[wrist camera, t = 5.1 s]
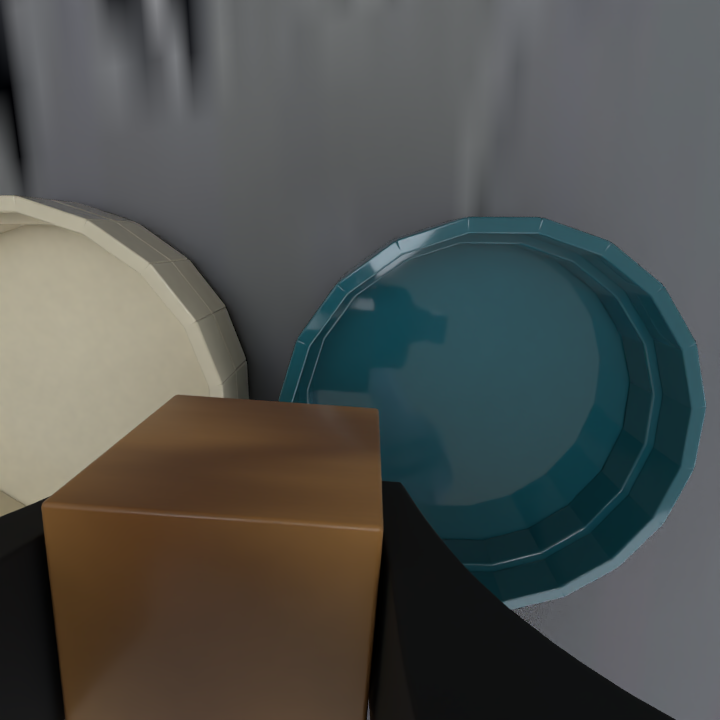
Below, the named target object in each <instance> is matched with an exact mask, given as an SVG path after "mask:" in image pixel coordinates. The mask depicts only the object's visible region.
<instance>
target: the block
mask: <svg viewBox="0 0 720 720" xmlns="http://www.w3.org/2000/svg"><path fill="white" fill-rule="evenodd" d="M41 510H42V519H43V527H44V536H45V545H46V554H47V563H48V572H49V580H50V589H51V598H52V607H53V616H54V625H55V633H56V642H57V651H58V660H59V669H60V677H61V686H62V695H63V704H64V713H65V720H367V710H368V699H369V688H370V677H371V666H372V654H373V643H374V632H375V621H376V610H377V598H378V587H379V576H380V565H381V554H382V542H383V531H384V526H383V502H382V478H381V454H380V430H379V411H378V409H376V408H362V407H348V406H334V405H319V404H305V403H291V402H277V401H263V400H248V399H234V398H220V397H206V396H192V395H175V396H173V397H172V398H171V399H170V400H169V401H167V402H166V403H165V404H164V405H162V406H161V407H160V408H159V409H157V410H156V411H155V412H154V413H152V414H151V415H150V416H149V417H148V418H146V419H145V420H144V421H143V422H141V423H140V424H139V425H138V426H136V427H135V428H134V429H133V430H131V431H130V432H129V433H128V434H127V435H125V436H124V437H123V438H122V439H120V440H119V441H118V442H117V443H115V444H114V445H113V446H112V447H110V448H109V449H108V450H107V451H106V452H104V453H103V454H102V455H101V456H99V457H98V458H97V459H96V460H94V461H93V462H92V463H91V464H89V465H88V466H87V467H86V468H84V469H83V470H82V471H81V472H80V473H78V474H77V475H76V476H75V477H73V478H72V479H71V480H70V481H68V482H67V483H66V484H65V485H63V486H62V487H61V488H60V489H59V490H57V491H56V492H55V493H54V494H52V495H51V496H50V497H49V498H47V499H46V500H45V501H44V502H43V503H42V506H41Z"/></svg>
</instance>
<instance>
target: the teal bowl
mask: <svg viewBox="0 0 720 720" xmlns="http://www.w3.org/2000/svg"><path fill="white" fill-rule="evenodd" d="M278 402H291V403H305V404H319V405H334V406H348V407H362V408H376V409H378V411H379V430H380V454H381V478H382V481H391V482H401V483H402V485H403V486H404V487H405V488H406V490H407V492H408V493H409V495H410V496H411V498H412V500H413V501H414V503H415V504H416V506H417V507H418V509H419V510H420V511H421V513H422V514H423V516H424V517H425V518H426V520H427V521H428V523H429V524H430V525H431V527H432V528H433V529H434V530H435V532H436V533H437V534H438V536H439V537H440V538H441V539H442V541H443V542H444V543H445V544H446V546H447V547H448V548H449V549H450V550H451V552H452V553H453V554H454V555H455V556H456V557H457V558H458V560H459V561H460V562H461V563H462V564H463V565H464V566H465V567H466V568H467V569H468V570H469V571H470V572H471V573H472V574H473V575H474V576H475V577H476V578H477V579H478V580H479V581H480V582H481V583H482V584H483V585H484V586H485V587H486V588H487V589H488V590H490V591H491V592H492V593H493V594H494V595H495V596H496V597H497V598H498V599H499V600H500V601H501V602H503V603H504V604H505V605H506V606H507V607H508V608H510V609H511V610H514V609H518V608H522V607H526V606H530V605H534V604H538V603H542V602H547V601H551V600H555V599H559V598H563V596H564V597H565V596H567V595H569V594H571V593H573V592H575V591H576V590H578V589H580V588H582V587H584V586H586V585H587V584H589V583H591V582H593V581H595V580H597V579H598V578H600V577H602V576H604V575H606V574H608V573H609V572H611V571H613V570H615V569H617V568H618V567H620V566H621V565H622V564H623V563H624V562H625V561H626V560H627V559H628V558H629V557H630V556H631V555H632V554H633V553H634V552H635V551H636V550H637V549H638V548H639V547H640V546H641V545H642V544H643V543H644V542H645V541H646V540H647V539H649V538H650V537H651V536H652V535H653V534H654V533H655V532H656V531H657V530H658V529H659V528H660V527H661V526H662V525H663V524H662V523H664V522H665V521H666V519H667V517H668V515H669V513H670V512H671V510H672V508H673V506H674V505H675V503H676V501H677V499H678V497H679V496H680V494H681V492H682V490H683V488H684V487H685V485H686V483H687V481H688V480H689V478H690V476H691V474H692V472H693V471H694V468H695V463H696V458H697V453H698V448H699V443H700V438H701V432H702V427H703V422H704V417H705V412H706V401H705V395H704V388H703V381H702V375H701V368H700V362H699V355H698V349H697V344H696V341H695V340H694V338H693V336H692V334H691V333H690V331H689V329H688V327H687V325H686V324H685V322H684V320H683V318H682V317H681V315H680V313H679V311H678V310H677V308H676V306H675V304H674V303H673V301H672V299H671V297H670V295H669V294H668V292H667V290H666V288H665V287H664V286H663V284H662V283H660V282H659V281H658V280H657V279H655V278H654V277H653V276H652V275H651V274H649V273H648V272H647V271H646V270H645V269H643V268H642V267H641V266H640V265H639V264H637V263H636V262H635V261H634V260H632V259H631V258H630V257H629V256H628V255H626V254H625V253H624V252H623V251H622V250H620V249H619V248H618V247H617V246H616V245H614V244H613V243H612V242H609V241H608V240H606V239H603V238H600V237H597V236H594V235H591V234H588V233H586V232H583V231H580V230H577V229H574V228H571V227H569V226H566V225H563V224H560V223H557V222H554V221H552V220H549V219H546V218H541V217H464V218H460V219H455V220H450V221H446V222H443V223H440V224H437V225H434V226H431V227H428V228H425V229H422V230H419V231H416V232H413V233H410V234H407V235H404V236H400V237H397V238H394V239H393V240H390V241H389V242H387V243H386V244H385V245H383V246H382V247H380V248H379V249H378V250H376V251H375V252H374V253H372V254H371V255H370V256H368V257H367V258H365V259H364V260H363V261H361V262H360V263H359V264H357V265H356V266H354V267H353V268H352V269H350V270H349V271H348V272H346V273H345V274H344V275H343V276H342V277H341V278H340V279H339V281H338V282H337V283H336V285H335V286H334V288H333V289H332V290H331V292H330V293H329V295H328V296H327V297H326V299H325V300H324V302H323V303H322V304H321V306H320V307H319V309H318V310H317V311H316V313H315V314H314V316H313V317H312V318H311V320H310V321H309V323H308V324H307V325H306V327H305V328H304V329H303V331H302V332H301V334H300V335H299V336H298V338H297V340H296V343H295V346H294V349H293V353H292V356H291V359H290V362H289V366H288V369H287V372H286V376H285V379H284V382H283V386H282V389H281V392H280V395H279V399H278Z"/></svg>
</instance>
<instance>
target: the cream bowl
mask: <svg viewBox="0 0 720 720" xmlns="http://www.w3.org/2000/svg"><path fill="white" fill-rule="evenodd" d="M225 307H226V306H225V305H224V303H223V302H222V301H221V300H220V298H219V297H218V296H217V295H216V293H215V292H214V291H213V289H212V288H211V287H210V286H209V284H208V283H207V282H206V281H205V279H204V278H203V277H202V275H201V274H200V273H199V272H198V270H197V269H196V268H195V267H194V265H193V264H192V263H191V261H190V260H189V259H187V258H186V257H185V256H184V255H182V254H181V253H179V252H178V251H177V250H175V249H174V248H172V247H171V246H169V245H168V244H167V243H165V242H164V241H162V240H161V239H160V238H158V237H157V236H155V235H154V234H153V233H151V232H150V231H148V230H147V229H146V228H144V227H143V226H141V225H140V224H139V223H135V222H134V221H131V220H128V219H125V218H122V217H119V216H116V215H113V214H110V213H107V212H104V211H101V210H98V209H95V208H92V207H89V206H86V205H83V204H80V203H75V202H67V201H59V200H50V199H42V198H33V197H25V196H16V195H0V517H1V516H3V515H6V514H8V513H11V512H13V511H16V510H18V509H21V508H23V507H26V506H28V505H31V504H33V503H35V502H38V501H40V500H42V499H45V498H47V497H49V496H51V495H52V494H54V493H55V492H56V491H57V490H59V489H60V488H61V487H62V486H63V485H65V484H66V483H67V482H68V481H70V480H71V479H72V478H73V477H75V476H76V475H77V474H78V473H80V472H81V471H82V470H83V469H84V468H86V467H87V466H88V465H89V464H91V463H92V462H93V461H94V460H96V459H97V458H98V457H99V456H101V455H102V454H103V453H104V452H106V451H107V450H108V449H109V448H110V447H112V446H113V445H114V444H115V443H117V442H118V441H119V440H120V439H122V438H123V437H124V436H125V435H127V434H128V433H129V432H130V431H131V430H133V429H134V428H135V427H136V426H138V425H139V424H140V423H141V422H143V421H144V420H145V419H146V418H148V417H149V416H150V415H151V414H152V413H154V412H155V411H156V410H157V409H159V408H160V407H161V406H162V405H164V404H165V403H166V402H167V401H169V400H170V399H171V398H172V397H173V396H175V395H192V396H206V397H220V398H234V399H248V400H249V391H248V373H247V361H245V360H246V358H245V355H244V353H243V350H242V348H241V345H240V342H239V340H238V337H237V335H236V332H235V329H234V327H233V324H232V322H231V319H230V317H229V314H228V311H227V309H226V308H225Z"/></svg>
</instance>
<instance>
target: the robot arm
mask: <svg viewBox="0 0 720 720" xmlns="http://www.w3.org/2000/svg"><path fill="white" fill-rule="evenodd" d="M49 497H50V496H49ZM49 497H47V498H49ZM47 498H45V499H42V500H40V501H38V502H35V503H33V504H31V505H28V506H26V507H23V508H21V509H18V510H16V511H13V512H11V513H8V514H6V515H3V516H1V517H0V720H65V713H64V704H63V695H62V686H61V677H60V669H59V660H58V651H57V642H56V633H55V625H54V616H53V607H52V598H51V589H50V580H49V572H48V563H47V554H46V545H45V536H44V527H43V519H42V510H41V506H42V503H43V502H44V501H45V500H46V499H47ZM382 502H383V526H384V531H383V542H382V554H381V565H380V576H379V587H378V598H377V610H376V621H375V632H374V643H373V654H372V666H371V677H370V688H369V709H370V720H675V719H674V718H672V717H670V716H668V715H666V714H665V713H663V712H661V711H659V710H658V709H656V708H654V707H652V706H650V705H649V704H647V703H645V702H643V701H642V700H640V699H638V698H636V697H634V696H633V695H631V694H630V693H628V692H626V691H625V690H623V689H621V688H620V687H618V686H617V685H615V684H614V683H612V682H611V681H609V680H608V679H606V678H604V677H603V676H601V675H600V674H598V673H597V672H595V671H594V670H592V669H591V668H589V667H587V666H586V665H584V664H583V663H581V662H580V661H578V660H577V659H576V658H574V657H573V656H571V655H570V654H568V653H567V652H566V651H564V650H563V649H561V648H560V647H558V646H557V645H556V644H554V643H553V642H552V641H550V640H549V639H548V638H546V637H545V636H544V635H542V634H541V633H540V632H539V631H537V630H536V629H535V628H533V627H532V626H531V625H529V624H528V623H527V622H526V621H524V620H523V619H522V618H520V617H519V616H518V615H517V614H516V613H514V612H513V611H512V610H511V609H510V608H508V607H507V606H506V605H505V604H504V603H503V602H501V601H500V600H499V599H498V598H497V597H496V596H495V595H494V594H493V593H492V592H491V591H490V590H488V589H487V588H486V587H485V586H484V585H483V584H482V583H481V582H480V581H479V580H478V579H477V578H476V577H475V576H474V575H473V574H472V573H471V572H470V571H469V570H468V569H467V568H466V567H465V566H464V565H463V564H462V563H461V562H460V561H459V560H458V558H457V557H456V556H455V555H454V554H453V553H452V552H451V550H450V549H449V548H448V547H447V546H446V544H445V543H444V542H443V541H442V539H441V538H440V537H439V536H438V534H437V533H436V532H435V530H434V529H433V528H432V527H431V525H430V524H429V523H428V521H427V520H426V518H425V517H424V516H423V514H422V513H421V511H420V510H419V509H418V507H417V506H416V504H415V503H414V501H413V500H412V498H411V496H410V495H409V493H408V492H407V490H406V488H405V487H404V486H403V485H402V483H401V482H391V481H382Z"/></svg>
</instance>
